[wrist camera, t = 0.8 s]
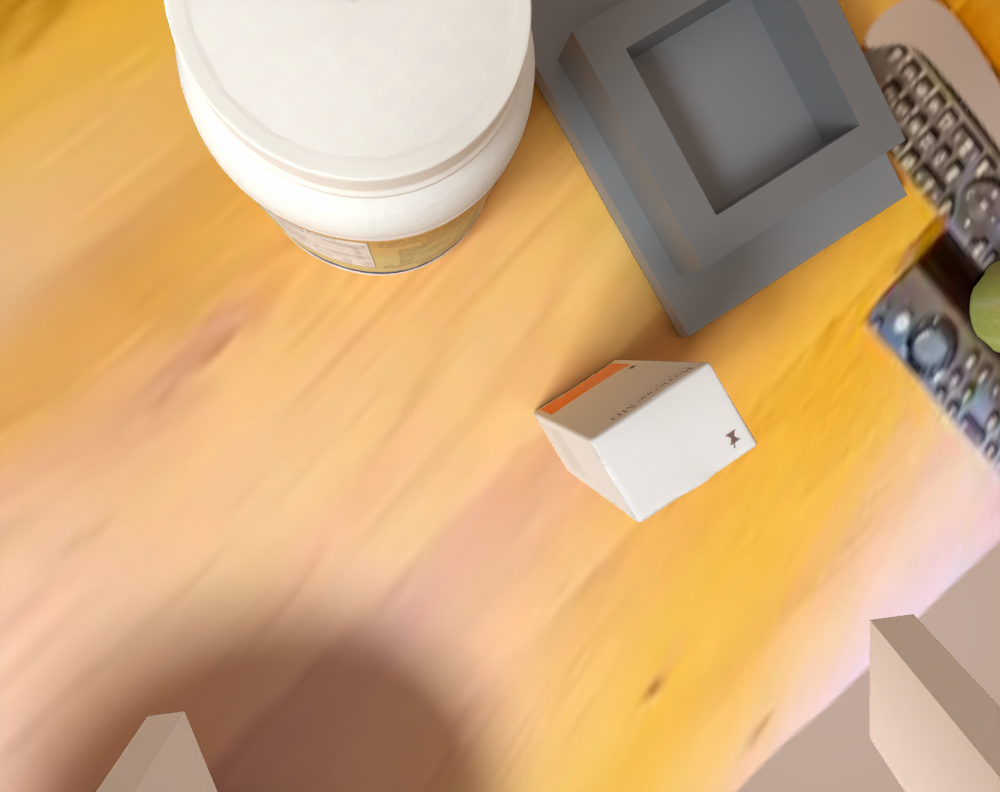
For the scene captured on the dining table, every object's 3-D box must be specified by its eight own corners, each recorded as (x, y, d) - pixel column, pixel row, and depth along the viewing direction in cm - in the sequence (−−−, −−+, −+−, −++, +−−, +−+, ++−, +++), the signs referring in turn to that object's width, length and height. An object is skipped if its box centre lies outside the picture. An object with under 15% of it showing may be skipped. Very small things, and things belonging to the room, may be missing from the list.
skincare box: (615, 356, 38) (713, 357, 26) (651, 417, 38) (763, 446, 26) (527, 412, 37) (587, 439, 25) (565, 473, 38) (641, 528, 26)
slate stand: (503, 25, 35) (516, -19, 31) (737, -109, 37) (780, -168, 33) (679, 337, 38) (714, 335, 34) (891, 199, 40) (949, 181, 35)
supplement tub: (297, 13, 34) (195, -324, 17) (515, 97, 36) (616, -131, 19) (230, 238, 34) (65, 124, 17) (451, 309, 36) (495, 268, 19)
